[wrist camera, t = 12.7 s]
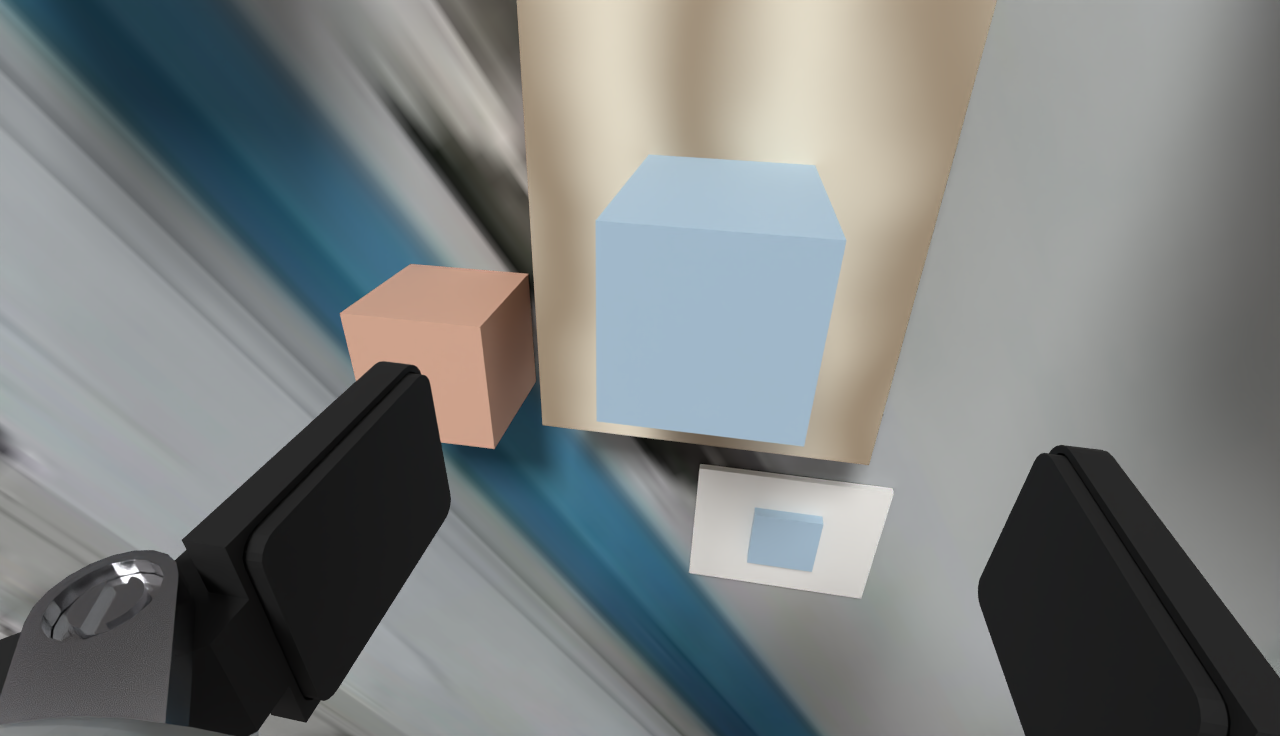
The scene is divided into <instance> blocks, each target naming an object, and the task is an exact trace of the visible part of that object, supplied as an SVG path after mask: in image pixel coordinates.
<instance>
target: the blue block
mask: <svg viewBox="0 0 1280 736" xmlns="http://www.w3.org/2000/svg"><path fill="white" fill-rule="evenodd" d="M845 245H846V238H845V236H844V233H843V231H842V229H841V226H840V224H839V221H838V219H837V217H836V214H835V212H834V209H833V207H832V205H831V202H830V200H829V197H828V195H827V193H826V190H825V188H824V185H823V183H822V181H821V178H820V176H819V173H818V171H817V169H816V166H815V165H804V164H788V163H773V162H757V161H742V160H726V159H711V158H695V157H680V156H664V155H648V156H647V157H646V159H645V160H644V161H643V162H642V164H641V165H640V166H639V167H638V169H637V170H636V171H635V172H634V174H633V175H632V176H631V177H630V178H629V180H628V181H627V182H626V183H625V185H624V186H623V187H622V188H621V190H620V191H619V192H618V193H617V195H616V196H615V197H614V198H613V200H612V201H611V202H610V203H609V205H608V206H607V207H606V208H605V209H604V211H603V212H602V213H601V214H600V216H599V217H598V218H597V219H596V407H597V421H598V422H606V423H614V424H622V425H631V426H639V427H647V428H655V429H664V430H672V431H680V432H688V433H696V434H705V435H713V436H721V437H729V438H738V439H746V440H754V441H762V442H770V443H779V444H787V445H795V446H803V447H804V444H805V439H806V434H807V430H808V425H809V420H810V415H811V410H812V405H813V401H814V396H815V391H816V386H817V381H818V376H819V371H820V367H821V362H822V357H823V352H824V347H825V342H826V337H827V333H828V328H829V323H830V318H831V313H832V308H833V303H834V299H835V294H836V289H837V284H838V279H839V274H840V270H841V265H842V260H843V255H844V250H845Z"/></svg>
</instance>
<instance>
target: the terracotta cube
mask: <svg viewBox="0 0 1280 736" xmlns="http://www.w3.org/2000/svg"><path fill="white" fill-rule="evenodd" d="M340 316H341V320H342V324H343V328H344V333H345V337H346V341H347V345H348V349H349V353H350V357H351V362H352V366H353V370H354V374H355V378H356V381H357V380H358V379H359V378H360V377H361V376H363V375H364V374H365V373H366V372H367V371H368V370H369V369H370V368H371V367H372V366H374V365H375V364H376V363H378V362H380V361H386V362H394V363H403V364H411V365H415V366H417V367H418V369H419V370H420V372H421V375H425V376H427V377H428V379H429V381H430V385H431V391H432V396H433V402H434V407H435V413H436V418H437V424H438V429H439V435H440V440H441V442H442V443H450V444H458V445H467V446H475V447H483V448H491V449H495V447H496V446H497V444H498V442H499V441H500V439H501V438H502V436H503V434H504V433H505V431H506V429H507V428H508V426H509V425H510V423H511V421H512V420H513V418H514V416H515V415H516V413H517V412H518V410H519V408H520V407H521V405H522V403H523V402H524V400H525V399H526V397H527V395H528V394H529V392H530V390H531V389H532V387H533V386H534V384H535V382H536V374H535V360H534V347H533V333H532V319H531V305H530V291H529V277H528V274H523V273H511V272H499V271H487V270H475V269H464V268H452V267H440V266H428V265H416V264H410V265H409V266H407V267H406V268H404V269H403V270H401V271H400V272H398V273H397V274H396V275H394V276H393V277H391V278H390V279H388V280H387V281H386V282H384V283H383V284H381V285H380V286H378V287H377V288H375V289H374V290H373V291H371V292H370V293H368V294H367V295H365V296H364V297H363V298H361V299H360V300H358V301H357V302H355V303H354V304H352V305H351V306H350V307H348V308H347V309H345V310H344V311H342V312H341V313H340Z"/></svg>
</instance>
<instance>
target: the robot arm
mask: <svg viewBox="0 0 1280 736" xmlns="http://www.w3.org/2000/svg"><path fill="white" fill-rule="evenodd" d="M450 502H451V497H450V490H449V485H448V479H447V474H446V468H445V462H444V457H443V451H442V446H441V440H440V435H439V429H438V424H437V418H436V413H435V407H434V402H433V396H432V391H431V385H430V381H429V379H428V377H427V376H425V375H421V372H420V370H419V369H418V367H417V366H415V365H411V364H403V363H394V362H386V361H380V362H378V363H376V364H375V365H374V366H372V367H371V368H370V369H369V370H368V371H367V372H366V373H365V374H364V375H363V376H361V377H360V378H359V379H358V380H357V381H356V382H355V383H354V384H353V385H352V386H350V387H349V388H348V389H347V390H346V391H345V392H344V393H343V394H342V395H341V396H339V397H338V398H337V399H336V400H335V401H334V402H333V403H332V404H331V405H330V406H328V407H327V408H326V409H325V410H324V411H323V412H322V413H321V414H320V415H319V416H317V417H316V418H315V419H314V420H313V421H312V422H311V423H310V424H309V425H308V426H307V427H305V428H304V429H303V430H302V431H301V432H300V433H299V434H298V435H297V436H296V437H294V438H293V439H292V440H291V441H290V442H289V443H288V444H287V445H286V446H285V447H283V448H282V449H281V450H280V451H279V452H278V453H277V454H276V455H275V456H274V457H272V458H271V459H270V460H269V461H268V462H267V463H266V464H265V465H264V466H263V467H261V468H260V469H259V470H258V471H257V472H256V473H255V474H254V475H253V476H252V477H250V478H249V479H248V480H247V481H246V482H245V483H244V484H243V485H242V486H241V487H239V488H238V489H237V490H236V491H235V492H234V493H233V494H232V495H231V496H230V497H228V498H227V499H226V500H225V501H224V502H223V503H222V504H221V505H220V506H219V507H217V508H216V509H215V510H214V511H213V512H212V513H211V514H210V515H209V516H208V517H206V518H205V519H204V520H203V521H202V522H201V523H200V524H199V525H198V526H197V527H195V528H194V529H193V530H192V531H191V532H190V533H189V534H188V535H187V536H186V537H184V538H183V539H182V541H183V543H184V545H185V547H186V549H187V550H186V551H185V552H184V553H182V554H181V555H180V556H179V557H178V558H177V559H176V560H175V561H174V560H173V559H172V558H171V557H170V556H169V555H168V554H165V553H161V552H158V551H154V550H144V551H131V552H126V553H122V554H117V555H113V556H110V557H107V558H105V559H102V560H100V561H97V562H94V563H92V564H89V565H88V566H86V567H84V568H82V569H80V570H78V571H77V572H75V573H73V574H71V575H69V576H68V577H66V578H65V579H64V580H62V581H61V582H60V583H58V584H57V585H56V586H54V587H53V588H51V589H50V590H49V591H48V592H47V593H46V594H45V595H44V596H43V597H42V598H41V599H40V600H39V601H38V602H37V603H36V604H35V605H34V607H33V608H32V610H31V611H30V613H29V615H28V617H27V619H26V621H25V622H24V625H23V628H22V631H21V632H20V633H17V634H15V635H12V636H9V637H6V638H4V639H1V640H0V736H258V730H259V728H260V727H261V726H262V724H263V723H264V721H265V720H266V718H267V717H268V716H269V714H270V713H271V715H274V716H279V717H283V718H288V719H292V720H297V721H301V722H307V721H308V719H309V718H310V716H311V714H312V713H313V711H314V710H315V708H316V707H317V705H318V704H319V702H320V701H321V700H322V701H325V700H327V699H329V698H330V697H331V696H332V695H334V693H335V692H336V691H337V689H338V688H339V686H340V685H341V683H342V681H343V680H344V678H345V677H346V675H347V674H348V672H349V670H350V669H351V667H352V666H353V664H354V662H355V661H356V659H357V658H358V656H359V655H360V653H361V651H362V650H363V648H364V647H365V645H366V644H367V642H368V640H369V639H370V637H371V636H372V634H373V632H374V631H375V629H376V628H377V626H378V625H379V623H380V621H381V620H382V618H383V617H384V615H385V613H386V612H387V610H388V609H389V607H390V606H391V604H392V602H393V601H394V599H395V598H396V596H397V595H398V593H399V591H400V590H401V588H402V587H403V585H404V583H405V582H406V580H407V579H408V577H409V576H410V574H411V572H412V571H413V569H414V568H415V566H416V564H417V563H418V561H419V560H420V558H421V557H422V555H423V553H424V552H425V550H426V549H427V547H428V546H429V544H430V542H431V541H432V539H433V538H434V536H435V534H436V533H437V531H438V530H439V528H440V527H441V525H442V523H443V522H444V520H445V519H446V517H447V515H448V512H449V508H450ZM978 598H979V603H980V607H981V610H982V612H983V615H984V618H985V621H986V624H987V627H988V630H989V633H990V635H991V638H992V641H993V644H994V647H995V650H996V653H997V656H998V659H999V661H1000V664H1001V667H1002V670H1003V673H1004V676H1005V679H1006V682H1007V684H1008V687H1009V690H1010V693H1011V696H1012V699H1013V702H1014V705H1015V707H1016V710H1017V713H1018V716H1019V719H1020V722H1021V725H1022V728H1023V730H1024V733H1025V736H1280V678H1279V676H1278V675H1277V674H1276V672H1275V671H1274V670H1273V668H1272V667H1271V666H1270V664H1269V663H1268V662H1267V660H1266V659H1265V658H1264V656H1263V655H1262V654H1261V652H1260V651H1259V650H1258V648H1257V647H1256V646H1255V644H1254V643H1253V642H1252V640H1251V639H1250V638H1249V636H1248V635H1247V634H1246V632H1245V631H1244V630H1243V628H1242V627H1241V626H1240V625H1239V623H1238V622H1237V621H1236V619H1235V618H1234V617H1233V615H1232V614H1231V613H1230V611H1229V610H1228V609H1227V607H1226V606H1225V605H1224V603H1223V602H1222V601H1221V599H1220V598H1219V597H1218V595H1217V594H1216V593H1215V591H1214V590H1213V589H1212V587H1211V586H1210V585H1209V583H1208V582H1207V581H1206V579H1205V578H1204V577H1203V575H1202V574H1201V573H1200V572H1199V570H1198V569H1197V568H1196V566H1195V565H1194V564H1193V562H1192V561H1191V560H1190V558H1189V557H1188V556H1187V554H1186V553H1185V552H1184V550H1183V549H1182V548H1181V546H1180V545H1179V544H1178V542H1177V541H1176V540H1175V538H1174V537H1173V536H1172V534H1171V533H1170V532H1169V530H1168V529H1167V528H1166V526H1165V525H1164V524H1163V522H1162V521H1161V520H1160V519H1159V517H1158V516H1157V515H1156V513H1155V512H1154V511H1153V509H1152V508H1151V507H1150V505H1149V504H1148V503H1147V501H1146V500H1145V499H1144V497H1143V496H1142V495H1141V493H1140V492H1139V491H1138V489H1137V488H1136V487H1135V485H1134V484H1133V483H1132V481H1131V480H1130V479H1129V477H1128V476H1127V475H1126V473H1125V472H1124V471H1123V469H1122V468H1121V467H1120V466H1119V464H1118V463H1117V462H1116V460H1115V459H1114V458H1113V456H1112V455H1110V454H1109V453H1108V452H1106V451H1103V450H1097V449H1089V448H1081V447H1073V446H1065V445H1059V446H1056V447H1054V448H1053V449H1052V450H1051V451H1050V453H1049V454H1047V453H1043V454H1040V455H1039V456H1038V457H1037V458H1036V460H1035V461H1034V463H1033V466H1032V468H1031V470H1030V472H1029V474H1028V476H1027V479H1026V481H1025V483H1024V485H1023V487H1022V489H1021V491H1020V494H1019V496H1018V498H1017V500H1016V502H1015V504H1014V506H1013V509H1012V511H1011V513H1010V515H1009V517H1008V519H1007V522H1006V524H1005V526H1004V528H1003V530H1002V532H1001V534H1000V537H999V539H998V541H997V543H996V545H995V547H994V549H993V552H992V554H991V556H990V558H989V560H988V562H987V565H986V567H985V569H984V571H983V573H982V575H981V577H980V580H979V585H978Z"/></svg>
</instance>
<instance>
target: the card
mask: <svg viewBox="0 0 1280 736" xmlns="http://www.w3.org/2000/svg"><path fill="white" fill-rule="evenodd" d="M893 494H894V492H893V489H892V488H887V487H880V486H872V485H864V484H856V483H848V482H840V481H832V480H824V479H816V478H809V477H801V476H793V475H785V474H777V473H769V472H761V471H753V470H745V469H737V468H730V467H722V466H714V465H706V464H700V469H699V479H698V489H697V499H696V509H695V519H694V529H693V539H692V549H691V559H690V569H689V573H692V574H699V575H706V576H712V577H719V578H726V579H732V580H739V581H746V582H752V583H759V584H766V585H773V586H779V587H786V588H793V589H799V590H806V591H813V592H819V593H826V594H833V595H839V596H846V597H853V598H859V599H861V597H862V594H863V591H864V588H865V584H866V581H867V578H868V575H869V572H870V568H871V565H872V562H873V559H874V555H875V552H876V549H877V546H878V543H879V539H880V536H881V533H882V530H883V526H884V523H885V520H886V517H887V514H888V510H889V507H890V504H891V501H892V497H893Z"/></svg>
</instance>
